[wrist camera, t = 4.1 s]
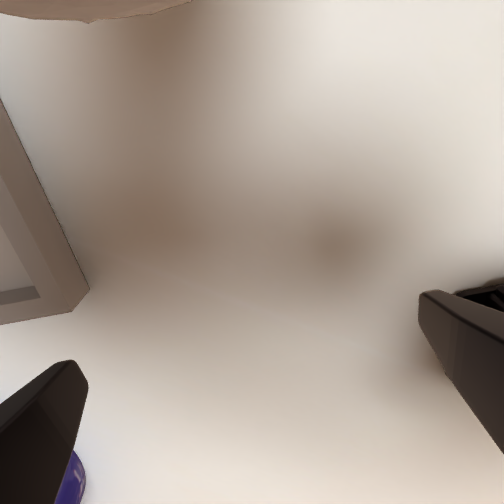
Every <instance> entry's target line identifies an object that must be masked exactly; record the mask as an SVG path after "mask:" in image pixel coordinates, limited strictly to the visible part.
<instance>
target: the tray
mask: <svg viewBox="0 0 504 504" xmlns="http://www.w3.org/2000/svg"><path fill="white" fill-rule="evenodd" d="M89 290H90V289H89V286H88V284H87V282H86V280H85V278H84V276H83V274H82V272H81V270H80V267H79V265H78V263H77V261H76V259H75V257H74V255H73V253H72V250H71V248H70V246H69V244H68V242H67V240H66V238H65V236H64V233H63V231H62V229H61V227H60V225H59V223H58V221H57V219H56V217H55V214H54V212H53V210H52V208H51V206H50V204H49V202H48V200H47V197H46V195H45V193H44V191H43V189H42V187H41V185H40V183H39V180H38V178H37V176H36V174H35V172H34V170H33V168H32V166H31V164H30V161H29V159H28V157H27V155H26V153H25V151H24V149H23V147H22V144H21V142H20V140H19V138H18V136H17V134H16V132H15V130H14V128H13V125H12V123H11V121H10V119H9V117H8V115H7V113H6V111H5V108H4V106H3V104H2V102H1V100H0V325H3V324H9V323H14V322H20V321H25V320H30V319H36V318H41V317H47V316H52V315H57V314H63V313H68V312H72V311H73V310H74V308H75V307H76V306H77V305H78V303H79V302H80V301H81V300H82V298H83V297H84V296H85V295H86V293H87V292H88V291H89Z"/></svg>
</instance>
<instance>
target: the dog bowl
mask: <svg viewBox="0 0 504 504" xmlns="http://www.w3.org/2000/svg"><path fill="white" fill-rule="evenodd" d="M85 481H86V479H85V472H84V468H83V466H82V463H81V461H80V459H79V458H78V456H77V454H76V453H75V452H74V451H73V452H72V455H71V458H70V461H69V464H68V467H67V469H66V472H65V475H64V478H63V481H62V484H61V486H60V489H59V492H58V495H57V498H56V500H55V503H54V504H80V502H81V499H82V496H83V493H84V489H85Z"/></svg>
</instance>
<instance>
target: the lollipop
mask: <svg viewBox="0 0 504 504" xmlns="http://www.w3.org/2000/svg"><path fill="white" fill-rule="evenodd" d="M190 1H192V0H0V13H3V14H7V15H12V16H18V17H24V18H29V19H40V20H78V21H82V22H85V23H88V24H89V23H91V22H93V21H96V20H99V19H113V18H125V17H131V16H135V15H141V14H147V15H152V14H154V13H157V12H159V11H162V10H164V9H168V8H171V7H174V6H177V5H181V4H184V3H187V2H190Z"/></svg>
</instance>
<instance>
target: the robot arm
mask: <svg viewBox="0 0 504 504" xmlns="http://www.w3.org/2000/svg"><path fill="white" fill-rule="evenodd" d="M418 321H419V325H420V328H421V330H422V331H423V333H424V335H425V337H426V338H427V340H428V342H429V344H430V345H431V347H432V349H433V350H434V352H435V354H436V356H437V357H438V359H439V361H440V363H441V364H442V366H443V368H444V370H445V374H446V375H447V376H448V378H449V379H450V380H451V381H452V383H453V384H454V386H455V387H456V389H457V390H458V392H459V393H460V394H461V396H462V397H463V399H464V400H465V401H466V403H467V404H468V406H469V407H470V408H471V410H472V411H473V412H474V414H475V415H476V417H477V418H478V419H479V421H480V422H481V424H482V425H483V426H484V428H485V429H486V430H487V432H488V433H489V435H490V436H491V437H492V439H493V440H494V442H495V443H496V444H497V446H498V447H499V449H500V450H501V451H502V453H503V454H504V284H501V285H496V286H490V287H484V288H479V289H473V290H468V291H462V292H459V293H458V294H456V295H452V294H449V293H446V292H444V291H441V290H431V291H426V292H422V293H421V294H420V296H419V309H418ZM87 394H88V382H87V380H86V378H85V376H84V374H83V373H82V371H81V369H80V368H79V366H78V364H77V363H76V362H75V361H74V360H66V361H61V362H57V363H55V364H53V365H52V366H51V367H49V368H48V369H47V370H45V371H44V372H43V373H41V374H40V375H39V376H37V377H36V378H35V379H33V380H32V381H31V382H29V383H28V384H27V385H25V386H24V387H22V388H21V389H20V390H18V391H17V392H16V393H14V394H13V395H12V396H10V397H9V398H8V399H6V400H5V401H4V402H2V403H1V404H0V504H54V503H55V500H56V498H57V495H58V492H59V489H60V486H61V484H62V481H63V478H64V475H65V472H66V469H67V467H68V464H69V461H70V458H71V455H72V452H73V448H74V445H75V441H76V437H77V433H78V429H79V425H80V421H81V418H82V414H83V410H84V406H85V402H86V398H87Z"/></svg>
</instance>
